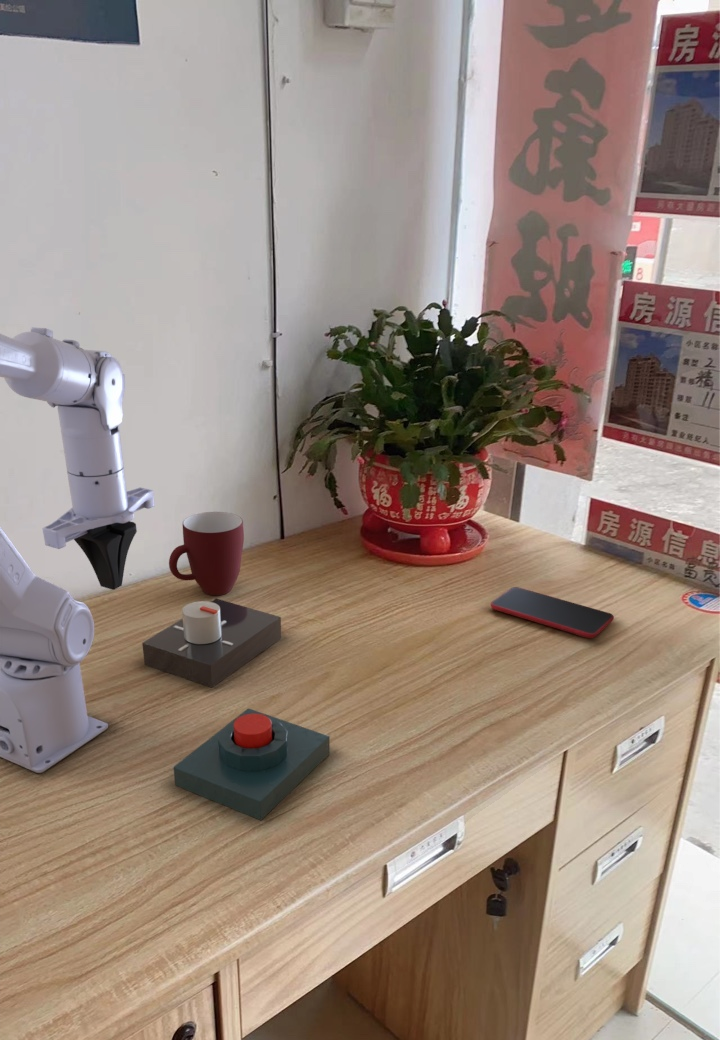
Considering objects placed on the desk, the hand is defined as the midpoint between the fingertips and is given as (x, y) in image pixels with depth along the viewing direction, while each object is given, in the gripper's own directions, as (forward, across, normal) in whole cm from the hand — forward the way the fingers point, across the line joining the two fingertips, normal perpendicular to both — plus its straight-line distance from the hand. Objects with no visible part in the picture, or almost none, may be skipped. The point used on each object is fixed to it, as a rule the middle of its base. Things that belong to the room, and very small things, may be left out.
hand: (111, 585), depth 99 cm
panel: (+10, +8, -7) cm, 15 cm away
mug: (+11, +22, +4) cm, 24 cm away
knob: (+7, +7, -7) cm, 12 cm away
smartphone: (+11, +40, -39) cm, 57 cm away
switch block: (+10, -8, -25) cm, 28 cm away
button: (+6, -8, -25) cm, 27 cm away
